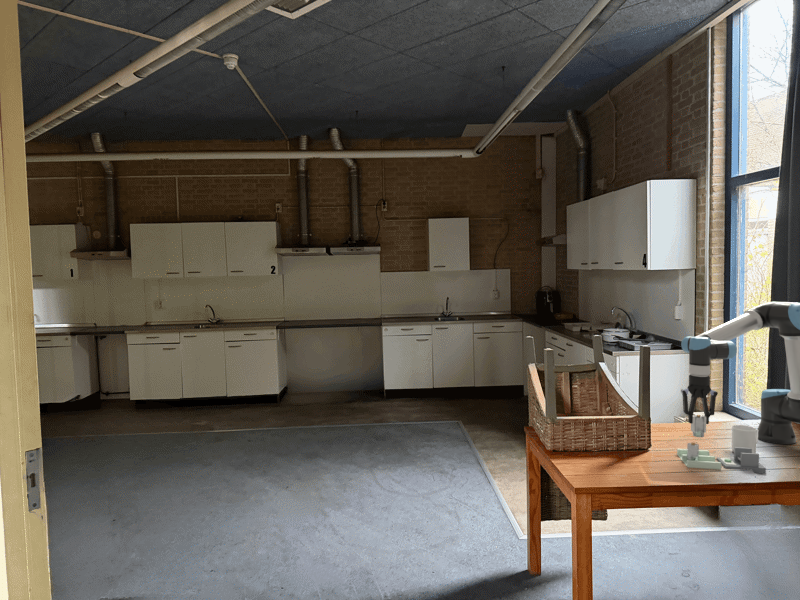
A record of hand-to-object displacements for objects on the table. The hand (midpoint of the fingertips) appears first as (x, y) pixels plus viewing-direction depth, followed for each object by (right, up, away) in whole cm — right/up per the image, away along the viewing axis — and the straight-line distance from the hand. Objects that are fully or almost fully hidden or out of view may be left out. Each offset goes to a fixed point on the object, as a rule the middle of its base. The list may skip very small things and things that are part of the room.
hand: (698, 431), depth 222 cm
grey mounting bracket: (+13, -13, -7) cm, 19 cm away
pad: (+15, -10, -7) cm, 19 cm away
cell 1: (-5, -12, -5) cm, 14 cm away
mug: (+26, -12, +10) cm, 30 cm away
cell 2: (0, -2, 0) cm, 2 cm away
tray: (-1, -13, -2) cm, 13 cm away
